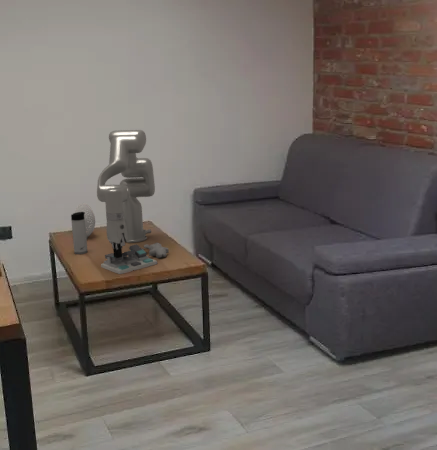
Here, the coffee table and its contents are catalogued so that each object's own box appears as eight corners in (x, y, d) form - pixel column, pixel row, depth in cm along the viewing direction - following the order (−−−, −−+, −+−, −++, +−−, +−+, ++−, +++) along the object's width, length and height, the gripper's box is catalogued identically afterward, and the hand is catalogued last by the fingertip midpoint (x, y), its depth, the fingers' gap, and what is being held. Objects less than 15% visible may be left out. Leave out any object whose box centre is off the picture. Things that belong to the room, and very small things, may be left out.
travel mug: (85, 254, 330) (81, 213, 326) (72, 254, 332) (68, 213, 327) (90, 250, 336) (86, 210, 332) (77, 250, 338) (73, 210, 333)
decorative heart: (74, 233, 370) (71, 202, 365) (94, 231, 372) (92, 200, 368) (77, 242, 353) (74, 209, 349) (98, 240, 355) (95, 207, 351)
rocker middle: (125, 256, 316) (124, 252, 316) (134, 253, 309) (133, 249, 309) (118, 258, 313) (117, 254, 313) (127, 255, 307) (126, 251, 307)
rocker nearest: (136, 247, 319) (136, 243, 319) (146, 255, 315) (146, 252, 314) (129, 248, 317) (129, 245, 316) (139, 257, 312) (139, 254, 311)
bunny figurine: (152, 252, 316) (141, 241, 329) (153, 262, 318) (141, 251, 331) (172, 249, 321) (159, 238, 333) (172, 259, 322) (159, 248, 335)
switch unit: (138, 257, 323) (137, 246, 321) (157, 263, 312) (156, 252, 310) (101, 267, 310) (100, 255, 309) (119, 274, 299) (118, 262, 298)
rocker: (112, 256, 312) (112, 252, 311) (122, 259, 306) (122, 255, 305) (105, 258, 309) (104, 254, 309) (115, 261, 303) (114, 257, 303)
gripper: (132, 217, 297) (134, 258, 301) (112, 212, 308) (115, 252, 312) (117, 220, 292) (120, 262, 296) (98, 215, 303) (101, 256, 307)
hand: (118, 257), depth 304 cm, fingers closed
